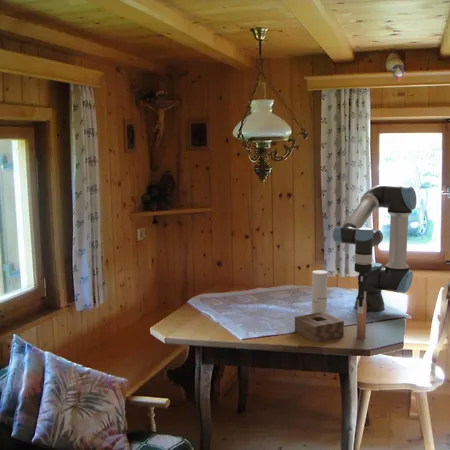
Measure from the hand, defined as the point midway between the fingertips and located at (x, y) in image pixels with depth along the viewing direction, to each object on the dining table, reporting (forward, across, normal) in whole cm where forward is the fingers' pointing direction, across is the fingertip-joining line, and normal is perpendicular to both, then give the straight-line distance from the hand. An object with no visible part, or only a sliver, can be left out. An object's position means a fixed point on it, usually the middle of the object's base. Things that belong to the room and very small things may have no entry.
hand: (361, 309), depth 285 cm
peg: (+13, 0, 0) cm, 13 cm away
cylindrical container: (+13, -18, -21) cm, 31 cm away
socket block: (+13, 0, -19) cm, 23 cm away
